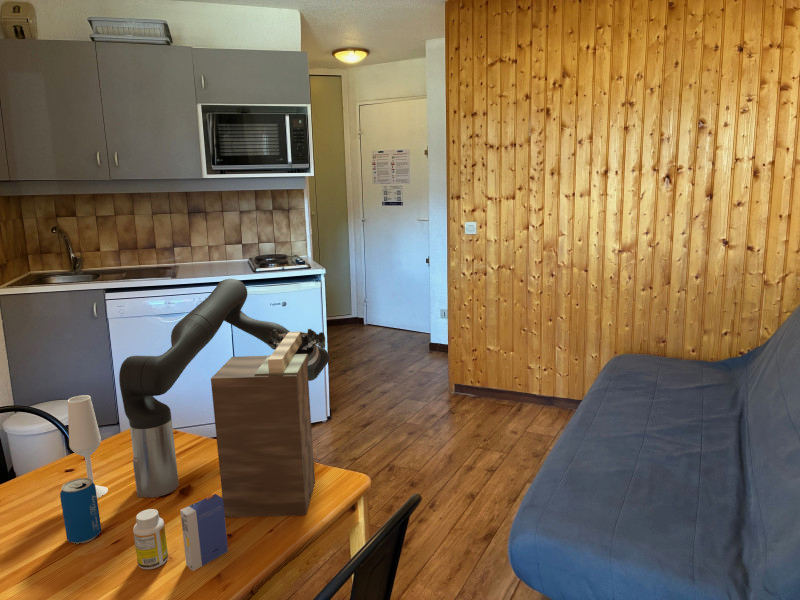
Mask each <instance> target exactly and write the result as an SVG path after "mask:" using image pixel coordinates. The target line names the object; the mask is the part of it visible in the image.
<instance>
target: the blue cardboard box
mask: <svg viewBox="0 0 800 600" xmlns="http://www.w3.org/2000/svg"><path fill="white" fill-rule="evenodd" d="M179 511H180V519H181V528H182V529H181V531H182V536H183V545H184V546H183V547H184V554H185V555H184V556H185V564H186V566H187V567H188V569H189V570H190V571H192V572H195V570H198V569H199V568H201V567H204V566H205V565H206V564H208V563H210V562H212V561H213V560H215V559H217V558H219V557H221V556H223V555H225V554H227V553H228V552H229V546H228V537H227V526H226V518H225V514H224V503H223V498H222V496H220V495H218V494H216V493H214V494H209V495H207V496H206V497H205V498H204V499H201V500H199V501H196V502H195V503H193V504H190V505H188V506H186V507H184V508H181V509H180V510H179Z"/></svg>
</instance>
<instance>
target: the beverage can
mask: <svg viewBox="0 0 800 600" xmlns="http://www.w3.org/2000/svg"><path fill="white" fill-rule="evenodd" d="M95 485H96V483H95V482H94V483H93V482H92V480H91V479H89V478H88V477H81V478H80V477H79V478H75V479H71V480H69V481H67V482H66V483H64V484H63V485H61V490H60V492H59V496H60V497H59V498H60V503H61V509H62V510H61V511H62V515H63V522H64V528H65V530H64V531H65V535H66V540H67V542H68V543H73V544H75V543H76V545H79V543H82V544H86V543H88V542H89V543H90V542H91V541H93V540H94V539H96V537H98V536H99V535H100V533H101V532H102V523H101V516H100V510H99V509H100V508H99V504H98V503H99V502H98V498H97V495H96V488H95Z"/></svg>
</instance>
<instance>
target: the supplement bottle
mask: <svg viewBox="0 0 800 600" xmlns="http://www.w3.org/2000/svg"><path fill="white" fill-rule="evenodd" d="M135 519H136V523H135V524H134V526H133V528H132V532H133V539H134V546H135V553H136V554H135V555H136V561H137V562H136V563H137V566H138V567H139V568H140V569H142V570H153V569H154V570H155V569H157V568H159V567H161V566H163V565H164V564H165V563H166V562H167V560H168V559H169V551H168V543H167V534H166V529H165V528H166V527H165V521H164V519H163V518H162V517H160V515H159V511H158V510H157V509H156V508H154V509H153V508H147V509H145V510H142V511H140V512H139V513H137V515H136V517H135Z"/></svg>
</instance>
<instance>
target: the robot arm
mask: <svg viewBox="0 0 800 600" xmlns="http://www.w3.org/2000/svg"><path fill="white" fill-rule="evenodd" d="M247 298H248V288H247V286H246V285H245V284H244V282H243V281H241V280H239V279H235V278H226V279H223V280H221V281H219V282H218V284H217V285H216V286H215V288H214V289H213V290H212V292H211V293H210V294H209V295H208V296H207V297H206V298H205V299H204V300H202V301H201V302H200V303H199V304H198V305H197V306H195V307H194V308H193V309H191V310H190V312H189V313H188V314H186V315H184V317H183V318H181V320H179V321H178V322H177V323H176V324H175V325H174V326H173V328H172V331H171V333H170V343H171V347H170V348H169V349H168V350H167V351H165V352H164V353H163V354H161V355H131V356H128V357H127V358H125V360H124V361H122V363H121V366H120V368H119V373H118V374H119V375H118V381H119V388H120V394H121V398H122V399H121V400H122V404H123V405H122V406H123V409H124V414H125V416H126V418H127V419H128V423H129V431H130V437H131V445H132V453H133V457H132V464H133V473H134V481H135V489H136V497H137V498H158V497H162V496H165V495H168V494H170V493H172V492H174V491H175V490H176V489H178V487H179V484H180V483H179V474H178V463H177V455H176V447H175V438H174V437H175V436H174V429H173V428H174V427H173V420H172V412H171V408H170V406H168V405H167V404H165V403H163V402H161V401H160V400H158V399H157V398H155V397H157V396H162V395H165V394H166V393H167V392H168V391H169V390H170V389H172V387H173V386H174V384H175V383H176V382H177V380H178V379H179V378H180V376H181V375H182V374H183V372H184V371H185V369H186V368H187V367H188V366H189V364H190V363H191V362H192V361H193V360H194V359H195V357H197V355H198V354H199V353H200V352H201V351H202V350H203V349H204V348H205V347H206V346H207V345H208V344H209V343H210V342H211V341H212V339H213V338H214V337H215V335H216V334H217V332H218V331H219V330H220V329H221V327H222V325H223V324H224V322H226V323H227V324H230V325H231V326H233V327H234V328H237V329H239V330H241V331H243V332H244V333H247V334H248V335H251V336H252V337H254V338H256V339H257V340H260V341H261V342H263V343H264V344H266V345H267V346H268V347H269V348H271V350H273V351H275V349H276V348H277V347H278V345H279V344H280V343H281V342H282V340H283V339H284V338H285V336H286V335H287V334H288V332H291V331H290V330H289V329H287V328H286V327H285V326H284V325H282V324H279V323H276V322H274V321H273V322H272V321H264V320H258V319H255V318H252V317H250V316H248V315H247V314H246V313H244V312H243V311H242V308H243V307H244V304H245V302H246V301H247ZM301 342H302V343H301V345H300V346H299V348H298V350H297V351H296V353H295V354H308V361H309V363H308V365H307V368H308V382H311V381H314V380H316V379H317V378H318V376H319V375H320V374H321V372H322V371H323V370H324V369H325V368H326V366H327V365H328V363H329V362H330V360H331V358H330V354H329V352H328V351H327V350H326V349H325V348H326V336H325V333H324V332H321V331H320V332H319V333H317V332H315V330H312V328H307V332H305V331H301Z"/></svg>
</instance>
